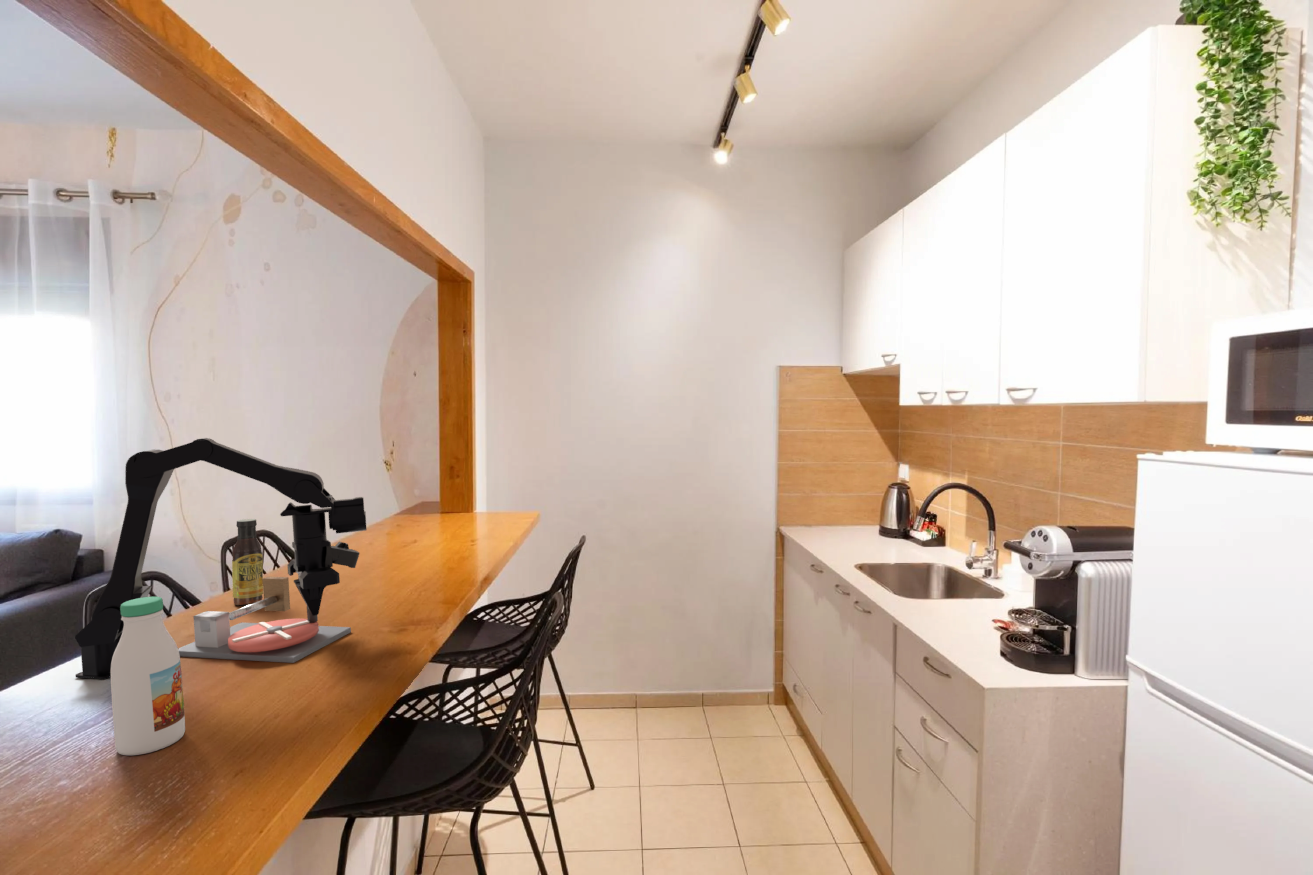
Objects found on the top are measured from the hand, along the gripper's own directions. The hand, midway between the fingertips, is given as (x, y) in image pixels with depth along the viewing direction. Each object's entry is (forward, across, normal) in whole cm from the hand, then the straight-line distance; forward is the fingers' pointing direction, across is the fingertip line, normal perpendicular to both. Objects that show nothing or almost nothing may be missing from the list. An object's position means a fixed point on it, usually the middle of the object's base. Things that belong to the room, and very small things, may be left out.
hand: (315, 614), depth 130 cm
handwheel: (+3, +1, +7) cm, 7 cm away
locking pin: (+2, +16, +8) cm, 18 cm away
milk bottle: (+6, -29, +26) cm, 39 cm away
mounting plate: (+5, +5, +8) cm, 11 cm away
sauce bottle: (+4, +41, +7) cm, 42 cm away
